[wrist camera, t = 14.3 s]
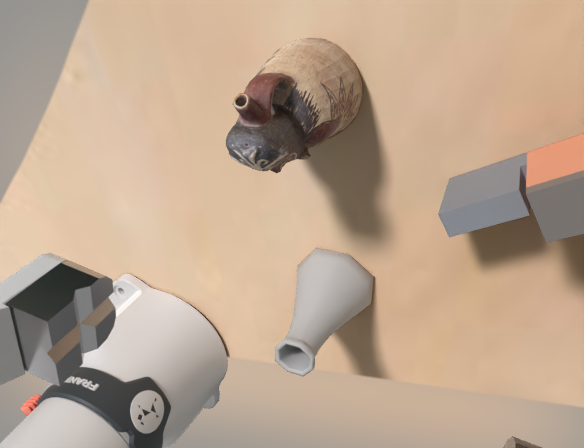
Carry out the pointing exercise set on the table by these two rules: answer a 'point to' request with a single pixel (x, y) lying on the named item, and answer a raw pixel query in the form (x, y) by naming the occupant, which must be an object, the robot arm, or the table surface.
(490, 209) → the bracket
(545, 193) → the block
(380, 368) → the table surface
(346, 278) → the flask
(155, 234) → the table surface
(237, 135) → the figurine
